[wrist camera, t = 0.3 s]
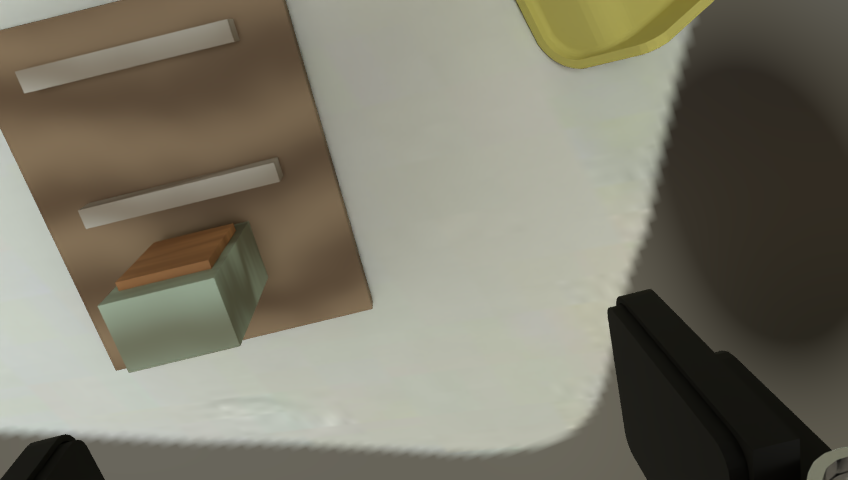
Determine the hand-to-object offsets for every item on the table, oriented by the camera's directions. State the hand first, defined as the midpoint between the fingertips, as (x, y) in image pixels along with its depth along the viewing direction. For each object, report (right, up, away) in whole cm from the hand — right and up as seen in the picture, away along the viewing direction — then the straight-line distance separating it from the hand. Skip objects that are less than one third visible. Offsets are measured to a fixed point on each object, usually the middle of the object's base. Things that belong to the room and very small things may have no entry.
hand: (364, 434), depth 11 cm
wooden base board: (-14, +7, +29) cm, 33 cm away
